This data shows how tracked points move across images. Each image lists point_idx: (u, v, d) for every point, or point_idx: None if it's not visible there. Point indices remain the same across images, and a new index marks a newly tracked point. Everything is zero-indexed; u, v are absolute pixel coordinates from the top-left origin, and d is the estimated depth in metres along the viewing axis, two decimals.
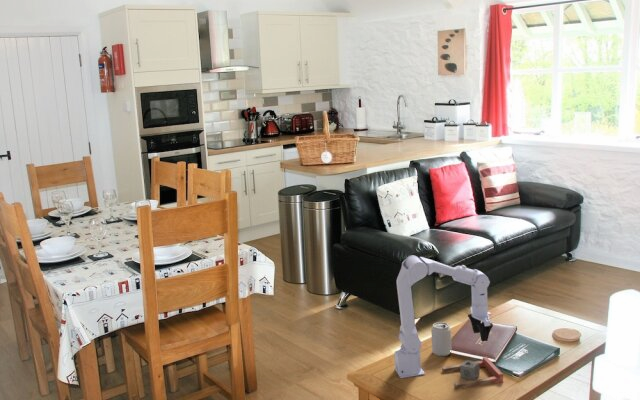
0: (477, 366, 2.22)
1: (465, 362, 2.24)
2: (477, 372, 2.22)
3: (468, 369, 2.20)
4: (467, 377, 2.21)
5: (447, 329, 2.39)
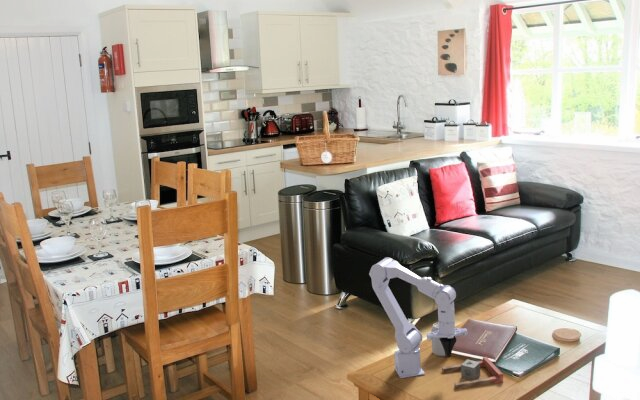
0: (478, 366, 2.22)
1: (466, 362, 2.24)
2: (477, 372, 2.22)
3: (469, 369, 2.20)
4: (468, 377, 2.21)
5: None
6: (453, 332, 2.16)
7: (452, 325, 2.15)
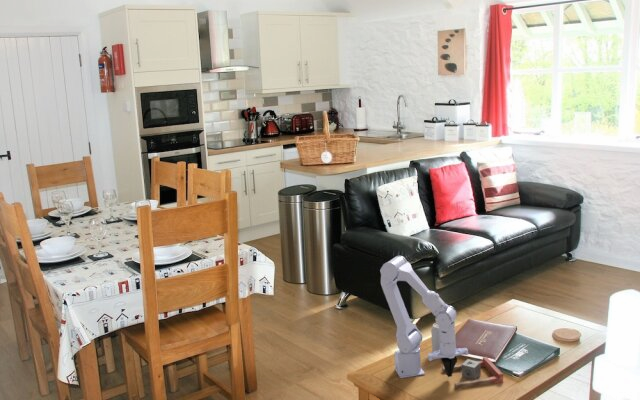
0: (478, 365, 2.22)
1: (466, 361, 2.24)
2: (478, 372, 2.22)
3: (469, 368, 2.20)
4: (468, 376, 2.21)
5: None
6: (454, 352, 2.18)
7: (453, 345, 2.17)
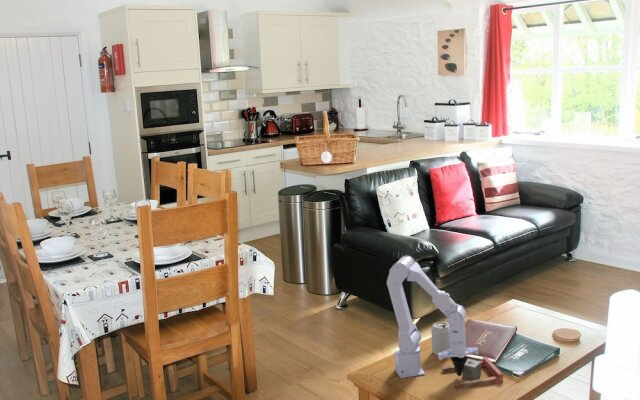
0: (479, 365, 2.22)
1: (467, 361, 2.24)
2: (478, 371, 2.22)
3: (470, 368, 2.21)
4: (469, 376, 2.22)
5: (447, 329, 2.39)
6: (464, 351, 2.18)
7: (463, 345, 2.17)
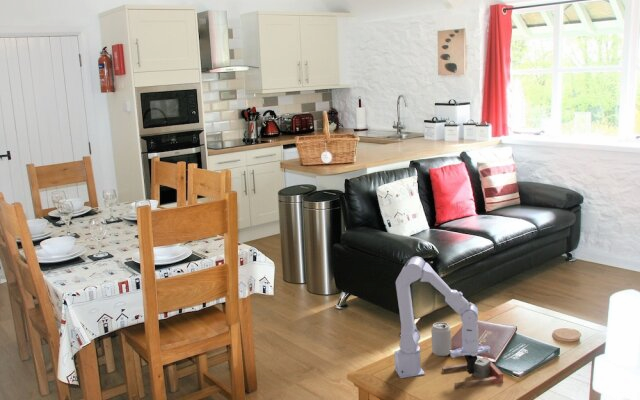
0: (488, 364, 2.22)
1: None
2: (488, 370, 2.22)
3: (479, 366, 2.21)
4: (478, 374, 2.22)
5: (447, 329, 2.39)
6: (477, 350, 2.19)
7: (476, 343, 2.18)
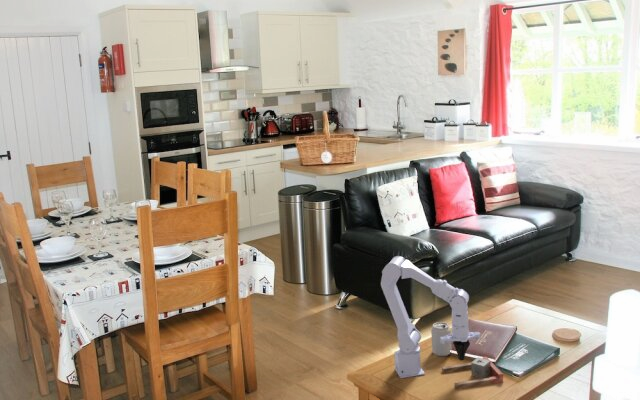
0: (488, 364, 2.22)
1: (476, 360, 2.25)
2: (488, 370, 2.22)
3: (479, 367, 2.21)
4: (478, 375, 2.22)
5: (447, 329, 2.39)
6: (467, 336, 2.17)
7: (466, 329, 2.16)
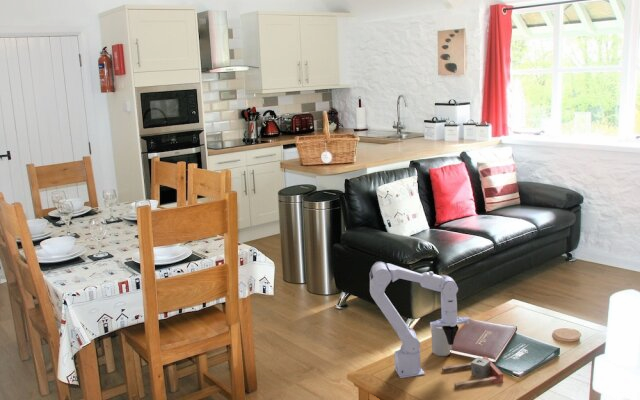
0: (488, 364, 2.22)
1: (476, 360, 2.25)
2: (487, 370, 2.23)
3: (479, 367, 2.21)
4: (478, 374, 2.22)
5: None
6: (455, 321, 2.24)
7: (454, 314, 2.24)
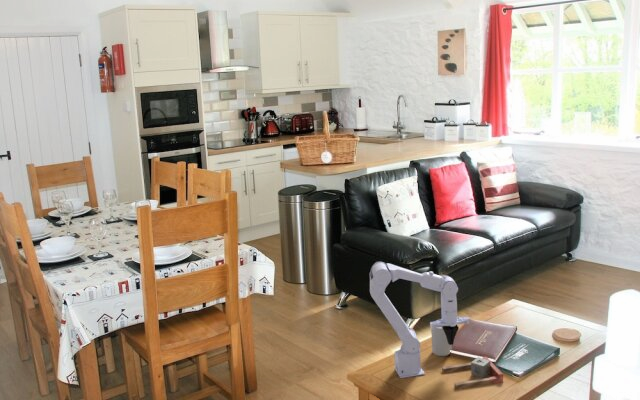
0: (488, 364, 2.23)
1: (476, 360, 2.25)
2: (487, 370, 2.23)
3: (479, 367, 2.21)
4: (478, 374, 2.22)
5: None
6: (455, 321, 2.24)
7: (454, 314, 2.24)
